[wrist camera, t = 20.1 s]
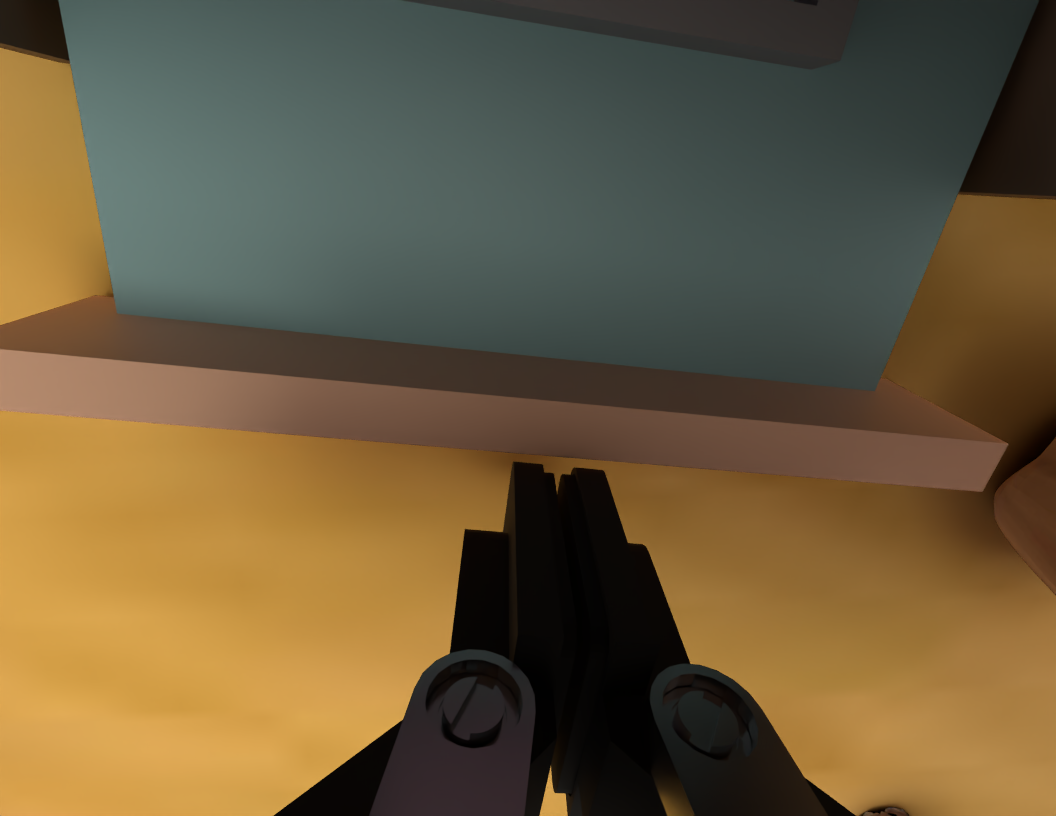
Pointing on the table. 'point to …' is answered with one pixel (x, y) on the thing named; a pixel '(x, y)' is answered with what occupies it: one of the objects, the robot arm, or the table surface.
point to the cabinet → (996, 170)
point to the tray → (526, 225)
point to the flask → (898, 812)
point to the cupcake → (1031, 514)
